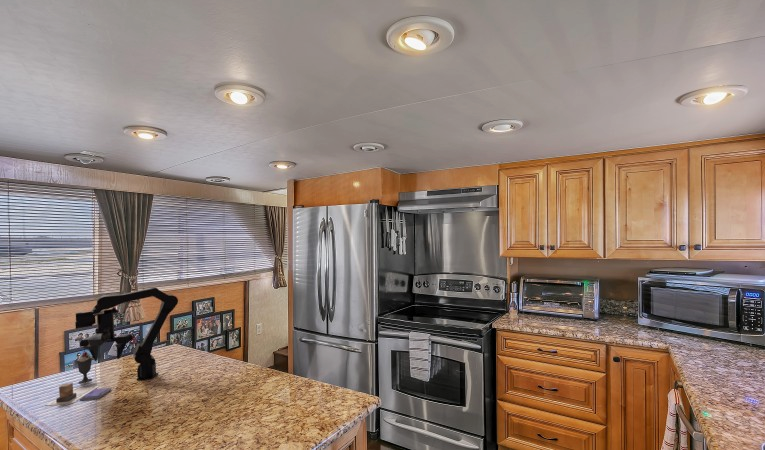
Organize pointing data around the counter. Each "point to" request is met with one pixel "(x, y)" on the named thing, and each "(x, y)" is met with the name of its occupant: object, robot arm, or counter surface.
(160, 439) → the counter surface
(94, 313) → the robot arm
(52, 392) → the counter surface
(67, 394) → the stamp
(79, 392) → the form sheet
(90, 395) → the ink pad
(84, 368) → the sundae
